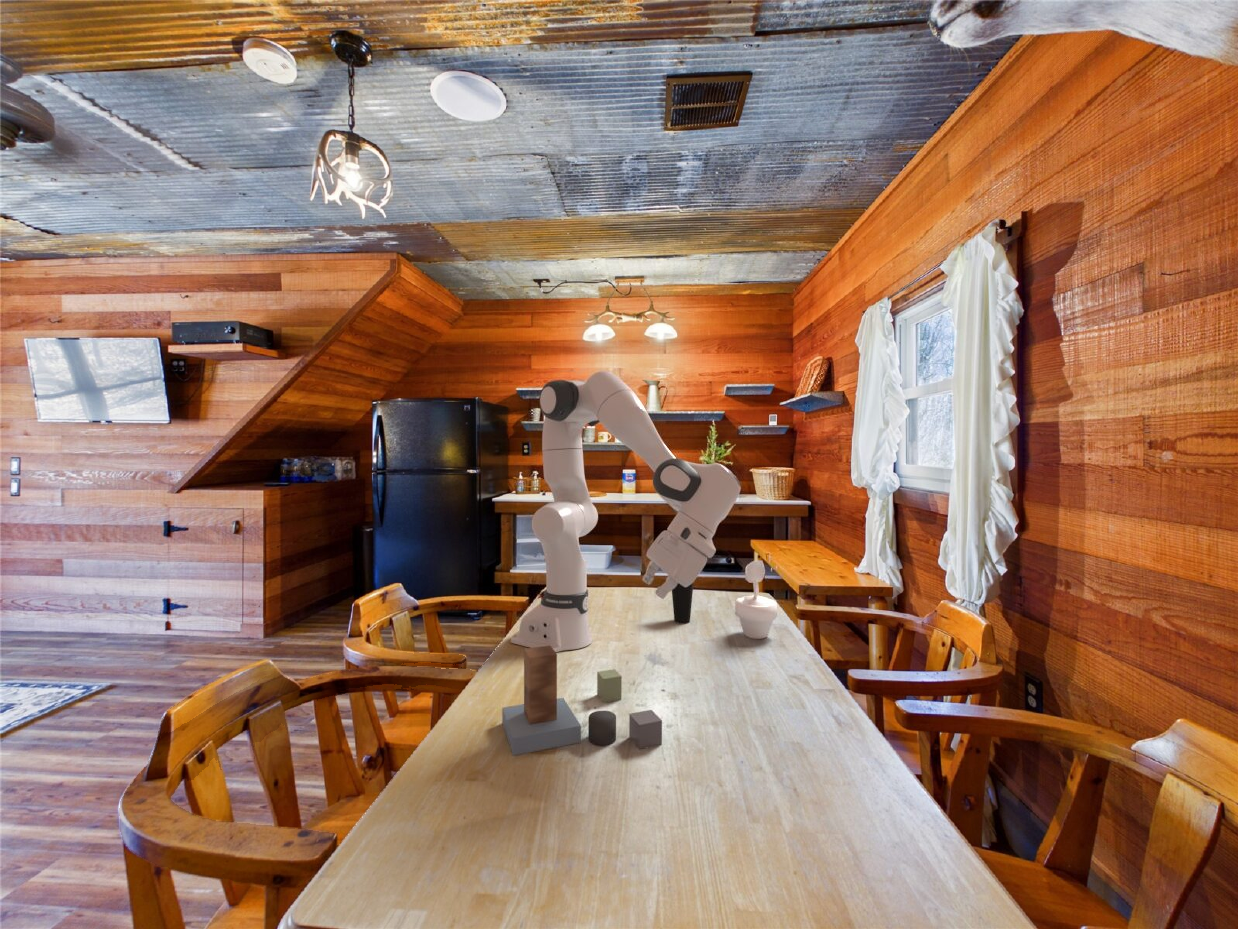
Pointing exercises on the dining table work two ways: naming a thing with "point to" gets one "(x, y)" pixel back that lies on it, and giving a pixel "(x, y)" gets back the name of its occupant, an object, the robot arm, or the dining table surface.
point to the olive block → (609, 685)
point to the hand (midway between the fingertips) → (651, 589)
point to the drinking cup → (682, 603)
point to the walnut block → (540, 684)
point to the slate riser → (540, 729)
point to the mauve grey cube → (645, 729)
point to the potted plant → (756, 605)
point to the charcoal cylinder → (602, 728)
